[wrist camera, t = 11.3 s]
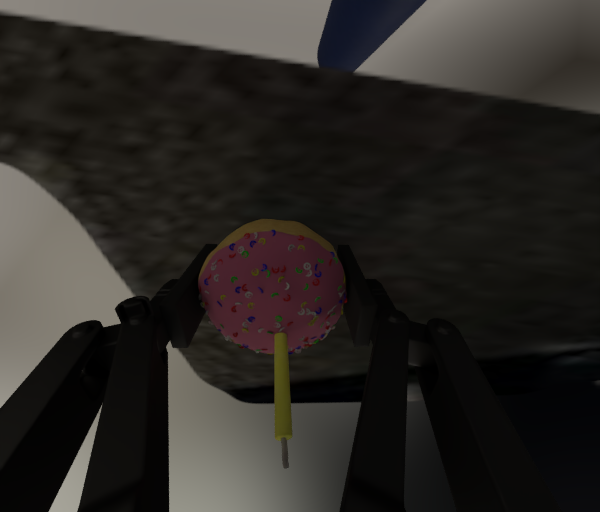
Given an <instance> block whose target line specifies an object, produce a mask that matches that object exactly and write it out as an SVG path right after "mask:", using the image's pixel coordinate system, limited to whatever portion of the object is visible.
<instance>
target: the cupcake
mask: <svg viewBox="0 0 600 512" xmlns="http://www.w3.org/2000/svg"><path fill="white" fill-rule="evenodd" d="M198 289H199V293H200V294H199V300H202V302H201V303H200V305H201V306H202V305H203V306H202V307H203V308H205V311H206V315H207V314H208V316H209V318H210V319H209V323H210V324H214V325H215V326H216V328H217V329H218V330H219V331H220V332H221V333H222V334H223V335H224V338H225V337H226V338H225V339H226V340H229V341H230V342H234V343H236V344H237V345H238V346H239V347H240V348H244V347H245V348H249V349H251V350H254V351H255V352H256V353H259V352H262V353H267V354H268V355H272V354H273V353H275V439H276V440H279V441H281V443H282V461H283V467H284V468H288V467H289V463H288V449H287V440H289V439H290V438H292V420H291V402H290V383H289V364H288V354H292V353H293V352H295V351H296V353H300V352H301V349H302V348H305V349H306V348H307V347H308V346H312V343H313V344H315V343H317V342H318V340H323V339H324V338H325V337H326V336H327V335H328V334H329V331H331V330H332V329H334V328H335V325H336V322H337V321H338V319H339V317H340V314H343V311H342V309H343V306H344V302H345V303H346V302H347V297H346V295H347V292H346V276H345V272H344V269H343V266H342V264H341V262H340V261H339V259H338V257H337V254H336V252H335V250H334V248H333V246H332V245H331V244H330V243H329V242H328V241H327V240H325V239H324V238H322V237H321V236H320V235H318V234H317V233H315V232H314V231H312V230H311V229H310V228H308V227H307V226H305V225H303V224H301V223H299V222H295V221H282V220H274V219H260V220H256V221H253V222H250V223H247V224H245V225H243V226H241V227H240V228H238V229H237V230H235V231H234V232H232V233H231V234H230V235H228V236H227V237H226V238H225V239H224V240H223V241H222V242H221V243H220V244H219V245H218V246H217V247H216V248H215V249H214V250H213V251H212V252H211V253H210V254H209V255H208V257H207V258H206V260H205V262H204V264H203V266H202V268H201V271H200V274H199V279H198ZM345 299H346V301H345ZM210 320H211V322H213V323H211V322H210ZM333 326H334V327H333ZM332 327H333V328H332ZM310 344H311V345H310ZM241 346H243V347H241ZM299 350H300V351H299ZM297 351H298V352H297ZM290 352H291V353H290ZM270 353H271V354H270Z"/></svg>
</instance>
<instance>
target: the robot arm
mask: <svg viewBox="0 0 600 512" xmlns="http://www.w3.org/2000/svg"><path fill="white" fill-rule="evenodd" d="M216 247H217V244H206V245H205V246H204V247H203V249H202V250H201V251H200V253H199V254H198V255H197V257H196V258H195V259H194V260H193V262H192V263H191V264H190V266H189V267H188V268H187V269H186V271H185V272H184V273H183V275H182V276H181V277H180V279H172V280H170V281H169V282H167V283H166V284H164V285H163V287H162V288H161V289H160V291H158V292H157V294H156V296H154V297H153V298H152V300H151V301H149V298H147V297H146V296H136V297H132V298H129V299H126V300H124V301H122V302H121V303H120V304H118V306H117V307H116V308H115V310H116V313H117V315H118V317H119V319H120V322H121V324H117V325H112V326H108V327H103V326H102V324H101V322H100V321H97V320H91V321H86V322H82V323H80V324H77V325H75V326H74V327H72V328H71V329H69V330H68V331H67V332H66V333H65V334H64V335H63V336H62V337H61V338H60V340H59V341H58V342H57V343H56V344H55V345H54V347H53V348H52V349H51V350H50V351H49V352H48V354H47V355H46V356H45V357H44V358H43V359H42V360H41V362H40V363H39V364H38V365H37V366H36V367H35V369H34V370H33V371H32V372H31V373H30V374H29V376H28V377H27V378H26V379H25V381H23V383H22V384H21V385H20V386H19V387H18V388H17V390H16V391H15V392H14V393H13V394H12V395H11V397H10V398H9V399H8V400H7V401H6V402H5V404H4V405H3V406H2V407H1V408H0V512H48V511H49V509H50V507H51V505H52V503H53V501H54V499H55V497H56V495H57V493H58V491H59V489H60V487H61V485H62V483H63V481H64V479H65V477H66V475H67V473H68V471H69V469H70V467H71V465H72V463H73V461H74V459H75V457H76V455H77V453H78V451H79V449H80V447H81V445H82V443H83V441H84V439H85V437H86V435H87V433H88V431H89V429H90V427H91V425H92V423H93V421H94V419H95V417H96V415H97V413H98V411H99V409H100V407H101V405H102V403H103V405H102V409H101V413H100V418H99V422H98V426H97V431H96V435H95V439H94V444H93V448H92V452H91V457H90V461H89V465H88V470H87V474H86V478H85V483H84V487H83V491H82V496H81V500H80V505H79V508H78V511H77V512H169V447H168V446H169V440H168V439H169V435H168V352H167V349H166V346H167V344H168V342H169V341H171V344H172V347H173V348H188V346H189V344H190V342H191V340H192V338H193V336H194V334H195V332H196V330H197V328H198V326H199V324H200V322H201V320H202V318H203V316H204V314H205V308H203V307H202V306H203V305H202V306H201V305H200V303H201V302H202V300H199V294H200V293H199V289H198V279H199V274H200V271H201V268H202V266H203V264H204V262H205V260H206V258H207V257H208V255H209V254H210V253H211V252H212V251H213V250H214V249H215V248H216ZM337 257H338V259H339V261H340V262H341V264H342V266H343V269H344V272H345V276H346V292H347V295H346V297H347V302H346V303H345V302H344V306H343V308H344V312H345V315H346V319H347V322H348V326H349V329H350V333H351V336H352V340H353V343H354V346H369V343H370V339H371V341H372V343H373V348H372V353H371V357H370V363H369V368H368V373H367V378H366V383H365V388H364V393H363V398H362V402H361V408H360V412H359V418H358V422H357V427H356V432H355V438H354V442H353V447H352V452H351V457H350V462H349V467H348V472H347V477H346V482H345V487H344V492H343V497H342V502H341V507H340V512H406V510H405V508H404V474H405V473H404V472H405V443H406V442H405V441H406V410H407V382H408V364H411V365H414V367H415V370H416V373H417V377H418V380H419V384H420V387H421V391H422V394H423V397H424V401H425V404H426V408H427V411H428V415H429V418H430V421H431V425H432V428H433V431H434V435H435V438H436V442H437V445H438V449H439V452H440V455H441V459H442V463H443V466H444V469H445V473H446V476H447V480H448V483H449V487H450V490H451V493H452V497H453V500H454V503H455V507H456V511H457V512H561V509H560V507H559V506H558V504H557V502H556V500H555V499H554V497H553V495H552V493H551V492H550V490H549V488H548V486H547V485H546V483H545V481H544V479H543V478H542V476H541V474H540V472H539V471H538V469H537V467H536V465H535V464H534V462H533V460H532V458H531V457H530V455H529V453H528V451H527V449H526V448H525V446H524V444H523V442H522V441H521V439H520V437H519V435H518V434H517V432H516V430H515V428H514V427H513V425H512V423H511V421H510V420H509V418H508V416H507V414H506V413H505V411H504V409H503V407H502V406H501V404H500V402H499V400H498V399H497V397H496V395H495V393H494V391H493V390H492V388H491V386H490V384H489V383H488V381H487V379H486V377H485V376H484V374H483V372H482V370H481V369H480V367H479V365H478V363H477V362H476V360H475V358H474V356H473V355H472V353H471V351H470V349H469V348H468V346H467V344H466V342H465V341H464V339H463V337H462V335H461V334H460V332H459V330H458V329H457V328H456V327H455V326H454V325H453V324H451V323H450V322H448V321H446V320H442V319H430V320H429V321H428V323H427V325H425V324H420V323H416V322H412V321H409V318H408V317H407V316H406V315H405V314H404V313H402V312H401V311H398V310H396V308H395V307H394V305H393V303H392V301H391V300H390V298H389V296H388V295H387V293H386V291H385V289H384V288H383V286H382V284H381V283H380V282H378V281H377V280H376V279H365V278H364V276H363V273H362V271H361V269H360V267H359V265H358V263H357V261H356V259H355V257H354V255H353V253H352V251H351V249H350V247H349V245H338V250H337ZM345 301H346V299H345Z"/></svg>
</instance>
